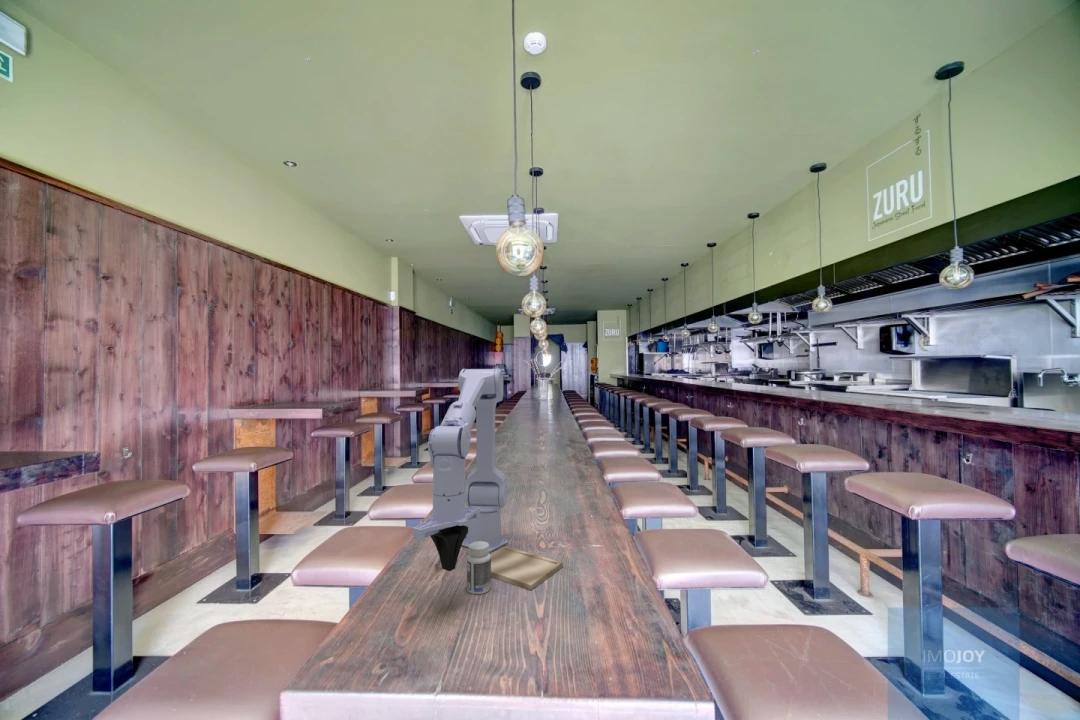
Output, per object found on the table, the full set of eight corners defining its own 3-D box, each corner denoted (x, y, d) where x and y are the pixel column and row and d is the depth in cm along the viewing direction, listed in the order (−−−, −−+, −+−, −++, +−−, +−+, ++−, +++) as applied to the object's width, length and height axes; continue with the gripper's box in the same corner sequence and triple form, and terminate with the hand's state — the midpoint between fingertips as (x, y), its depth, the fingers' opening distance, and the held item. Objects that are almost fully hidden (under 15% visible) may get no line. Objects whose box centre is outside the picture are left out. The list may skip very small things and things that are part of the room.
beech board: (470, 569, 88) (470, 564, 88) (505, 550, 98) (505, 545, 98) (531, 590, 79) (531, 584, 79) (562, 567, 89) (562, 561, 89)
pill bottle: (495, 584, 82) (495, 541, 82) (484, 596, 77) (484, 551, 78) (473, 581, 83) (473, 539, 84) (461, 592, 79) (462, 547, 79)
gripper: (433, 505, 66) (432, 592, 66) (492, 486, 78) (491, 559, 78) (405, 499, 70) (404, 580, 70) (465, 481, 82) (464, 550, 82)
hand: (448, 568), depth 74 cm, fingers closed
